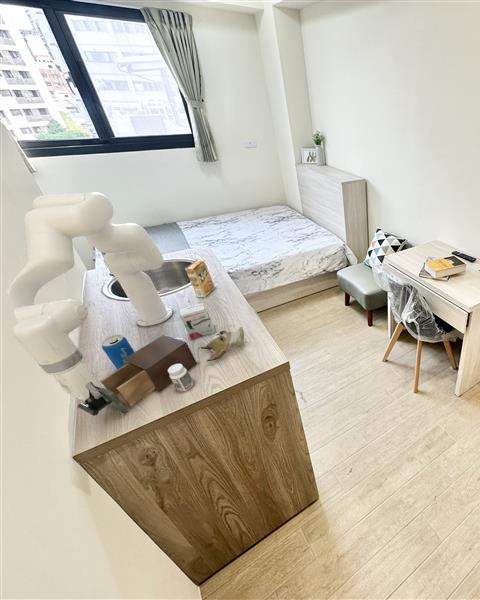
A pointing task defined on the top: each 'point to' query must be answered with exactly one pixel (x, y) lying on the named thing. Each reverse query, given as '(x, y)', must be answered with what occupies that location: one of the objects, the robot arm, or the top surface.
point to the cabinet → (162, 359)
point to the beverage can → (117, 349)
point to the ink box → (197, 320)
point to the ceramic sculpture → (224, 343)
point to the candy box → (200, 278)
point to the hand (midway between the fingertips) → (100, 406)
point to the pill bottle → (180, 377)
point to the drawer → (122, 389)
